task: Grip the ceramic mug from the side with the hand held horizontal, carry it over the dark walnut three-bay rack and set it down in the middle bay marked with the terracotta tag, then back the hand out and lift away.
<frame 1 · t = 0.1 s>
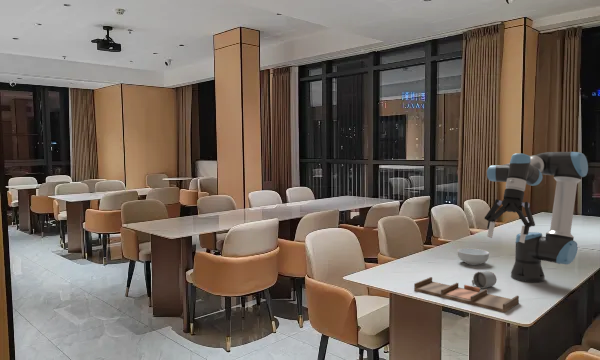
hand: (505, 239, 185), 28 cm above the table, tool tilted 20°, fingers open, 13 cm apart
rack: (464, 296, 199), on the table
ceramic mug: (482, 286, 214), on the table
cereal bowl: (472, 263, 258), on the table
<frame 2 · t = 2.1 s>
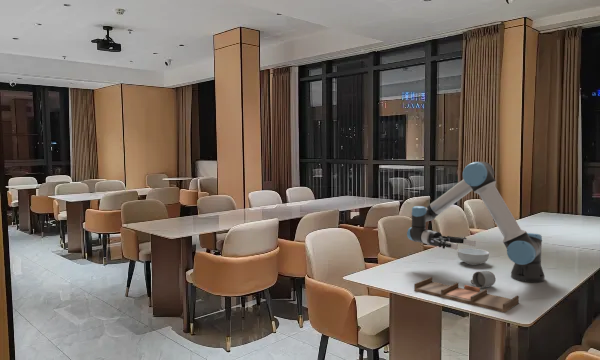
hand: (466, 245, 221), 18 cm above the table, tool horizontal, fingers open, 13 cm apart
nothing on the table moved.
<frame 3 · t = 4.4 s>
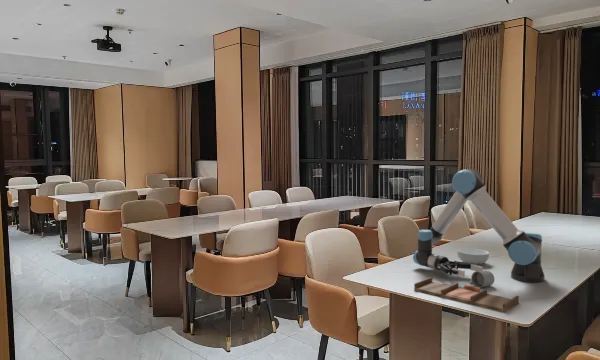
hand: (473, 272, 217), 6 cm above the table, tool horizontal, fingers open, 13 cm apart
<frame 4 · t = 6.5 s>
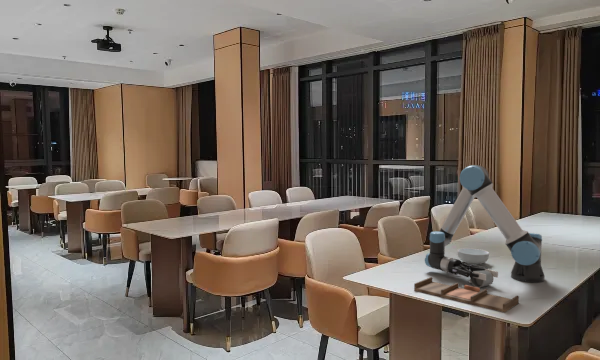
hand: (491, 276, 210), 6 cm above the table, tool horizontal, fingers closed on ceramic mug, 8 cm apart
ceramic mug: (479, 285, 215), on the table, touching gripper
everything else where it was.
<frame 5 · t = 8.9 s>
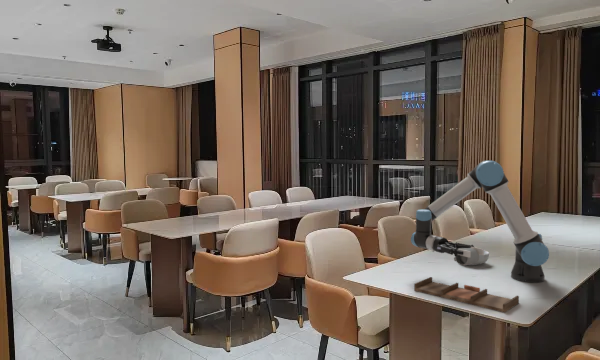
hand: (476, 253, 201), 19 cm above the table, tool horizontal, fingers closed on ceramic mug, 8 cm apart
ceramic mug: (464, 264, 207), point 12 cm above the table, touching gripper
everything else where it was.
when the fingers open (9 cm above the table, at t = 11.7 s): ceramic mug stays where it is, resting on rack.
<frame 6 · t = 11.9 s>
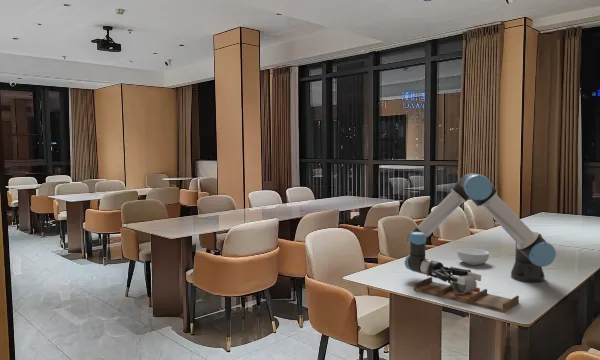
hand: (472, 280, 195), 9 cm above the table, tool horizontal, fingers open, 10 cm apart
ceramic mug: (460, 291, 200), point 2 cm above the table, touching rack
everything else where it was.
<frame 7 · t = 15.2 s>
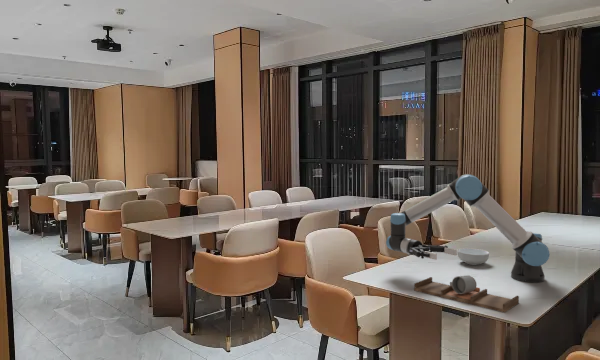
hand: (446, 254, 206), 17 cm above the table, tool horizontal, fingers open, 13 cm apart
nothing on the table moved.
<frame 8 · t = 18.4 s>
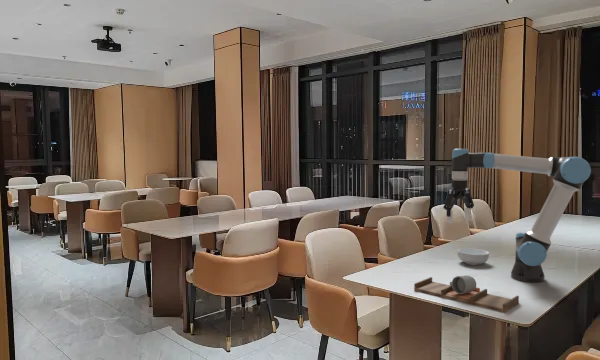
hand: (458, 222, 225), 29 cm above the table, tool pointing down, fingers open, 13 cm apart
nothing on the table moved.
at the end: ceramic mug 2.1 cm from the rack (horizontally); ceramic mug tilted 12°; the gripper is holding nothing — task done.
